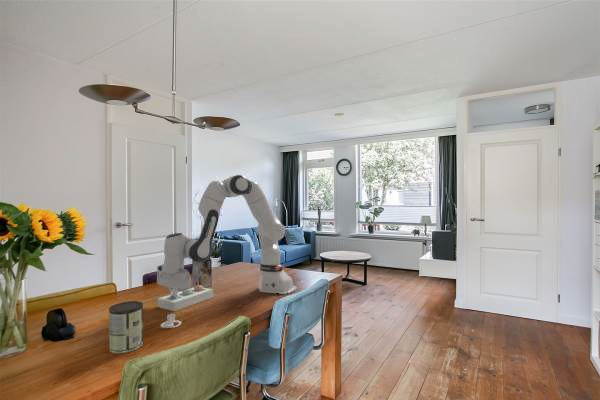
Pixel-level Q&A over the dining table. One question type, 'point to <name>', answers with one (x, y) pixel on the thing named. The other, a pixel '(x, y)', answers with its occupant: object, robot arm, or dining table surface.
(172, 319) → the teacup and saucer
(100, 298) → the dining table surface
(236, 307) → the dining table surface
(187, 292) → the sage button
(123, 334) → the coffee can
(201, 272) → the coffee box
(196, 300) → the button panel
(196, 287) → the terracotta button
